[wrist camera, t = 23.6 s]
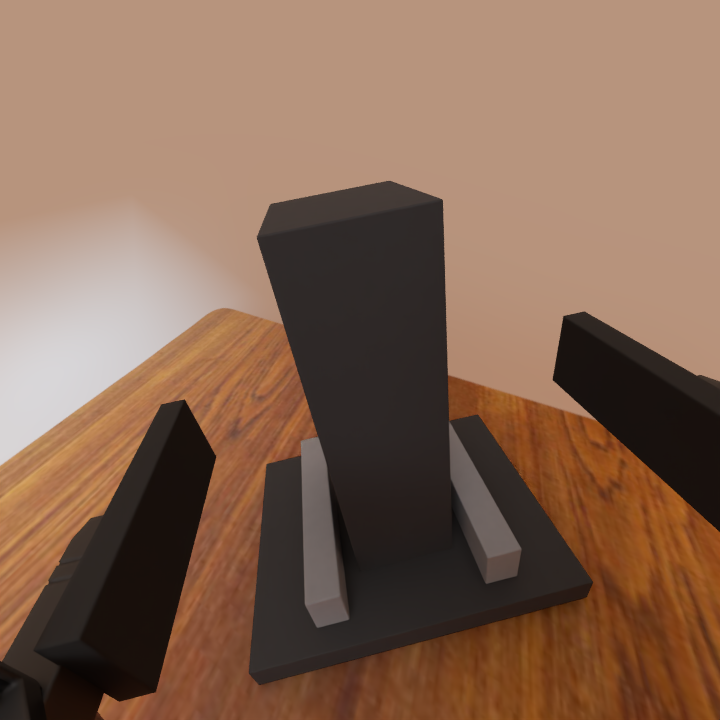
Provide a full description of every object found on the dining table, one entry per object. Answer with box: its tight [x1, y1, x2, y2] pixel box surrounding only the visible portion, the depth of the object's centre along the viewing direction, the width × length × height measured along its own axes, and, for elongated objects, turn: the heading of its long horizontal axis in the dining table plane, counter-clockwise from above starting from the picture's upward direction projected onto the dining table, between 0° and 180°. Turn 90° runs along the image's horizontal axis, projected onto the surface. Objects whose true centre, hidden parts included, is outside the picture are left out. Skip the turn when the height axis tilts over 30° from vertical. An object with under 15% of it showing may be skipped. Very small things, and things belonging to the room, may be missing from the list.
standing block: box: [257, 181, 453, 571], centre depth 16 cm, size 5×6×17 cm
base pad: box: [249, 415, 593, 685], centre depth 20 cm, size 16×12×4 cm
